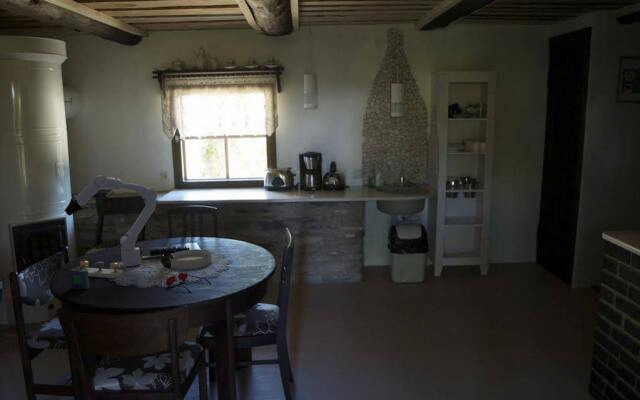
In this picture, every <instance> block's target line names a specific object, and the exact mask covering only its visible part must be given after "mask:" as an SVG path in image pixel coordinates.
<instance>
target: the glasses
mask: <svg viewBox="0 0 640 400" xmlns="http://www.w3.org/2000/svg"><path fill="white" fill-rule="evenodd" d="M176 276H177V278H178V279H176ZM188 277H192V278H196V279H197V278H198V279H201V280H205V281H206V282H207V283H208V284H209V285H211V284H212V283H211V282H210V281H209V279H207V278H205V277H200V276H195V275H190V274H188V272H187V271H185V272H184V271H181V272H179V273H177V274H175V275H172V276H170V277H167V278H166V282H165V283H164V285H165V284H166V287H168V288H169V287H170V286H176V287H182V288H185V290H187V291H188V293H190V294H191V293H192V291H190V290H189V289H188V287H186V286H184V285H183V286H182V285H178V284H176V283H177V282H178V281H182V282H185V281H186V280H187V278H188ZM174 283H175V284H174Z"/></svg>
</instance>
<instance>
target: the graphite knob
mask: <svg viewBox="0 0 640 400" xmlns="http://www.w3.org/2000/svg"><path fill="white" fill-rule="evenodd" d="M94 266H95V267H94V268H99V270H101V269H104V267H105V263H104V261H100V260H99V261H96V262H94Z"/></svg>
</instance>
